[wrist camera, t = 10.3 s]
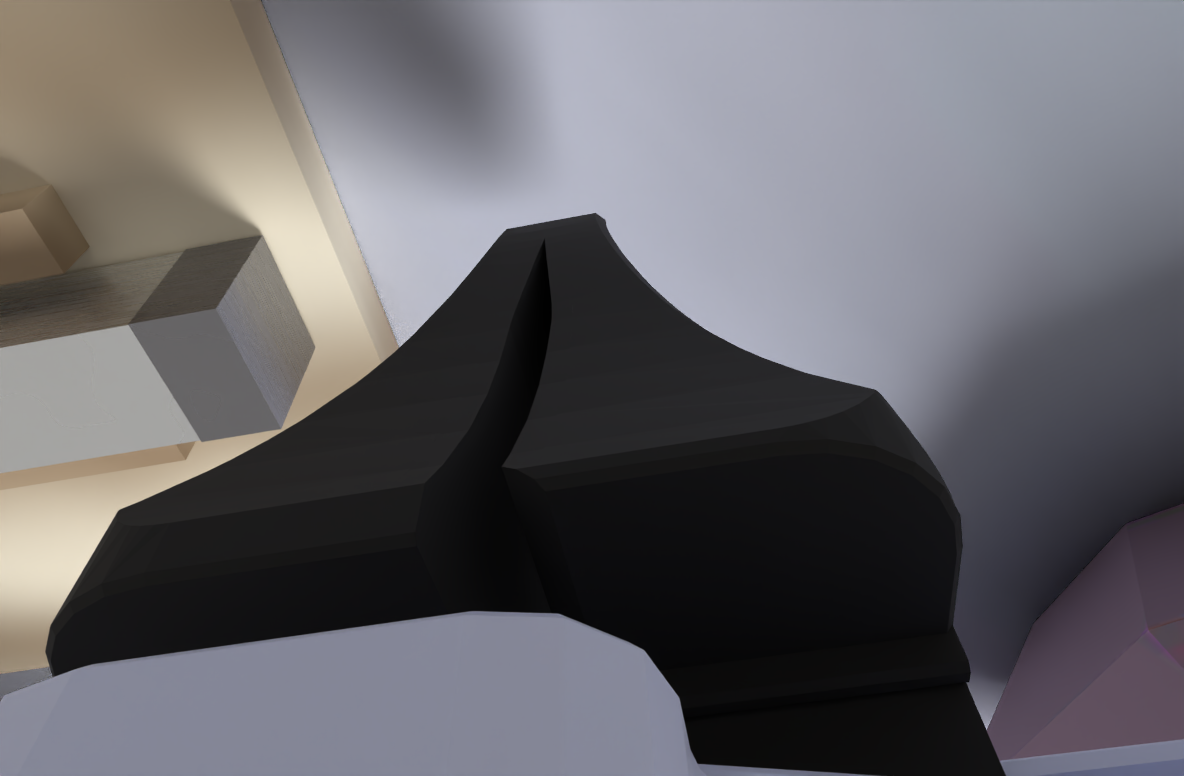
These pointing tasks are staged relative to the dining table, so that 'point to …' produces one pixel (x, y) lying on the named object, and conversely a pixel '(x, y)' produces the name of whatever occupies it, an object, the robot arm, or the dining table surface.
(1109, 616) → the flask
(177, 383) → the lock pin
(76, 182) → the dock
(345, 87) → the dining table surface
